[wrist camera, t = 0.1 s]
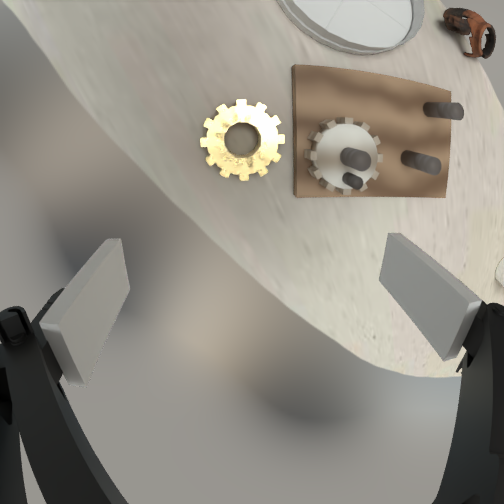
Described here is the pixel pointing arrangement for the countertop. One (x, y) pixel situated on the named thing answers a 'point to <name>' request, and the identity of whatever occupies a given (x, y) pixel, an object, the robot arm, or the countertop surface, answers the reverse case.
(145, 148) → the countertop surface
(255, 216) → the countertop surface
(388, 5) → the dish
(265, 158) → the brass gear
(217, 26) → the countertop surface
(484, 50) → the brown curved piece
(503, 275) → the white cup
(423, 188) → the gear board
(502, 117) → the countertop surface
